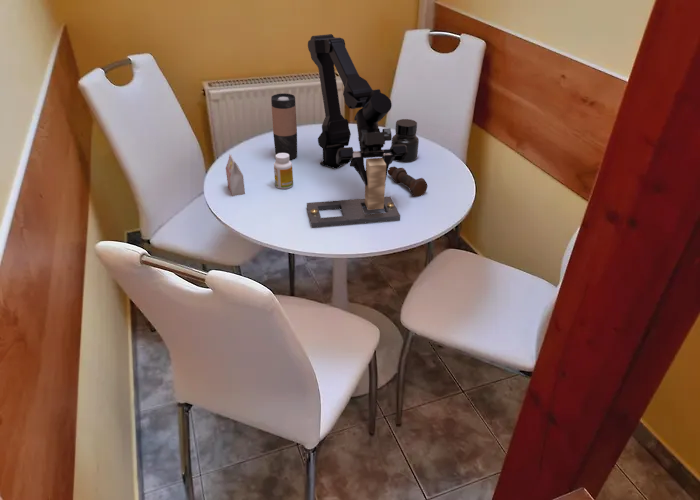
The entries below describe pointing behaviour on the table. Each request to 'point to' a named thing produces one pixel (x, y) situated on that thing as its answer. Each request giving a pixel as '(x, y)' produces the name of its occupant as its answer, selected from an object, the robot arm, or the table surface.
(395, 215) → the strike plate
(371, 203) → the birch peg
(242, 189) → the tea bag
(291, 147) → the travel mug
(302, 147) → the table surface
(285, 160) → the supplement bottle
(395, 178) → the bolt
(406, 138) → the ink bottle
